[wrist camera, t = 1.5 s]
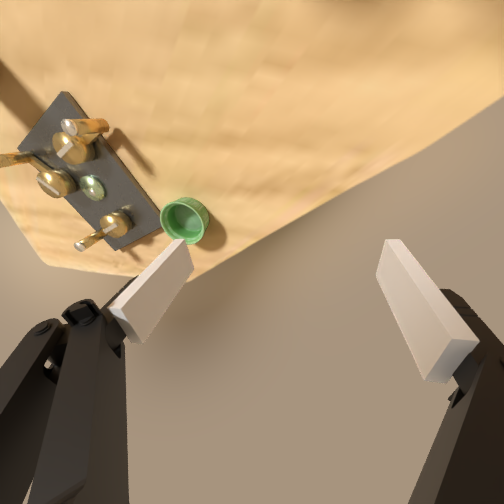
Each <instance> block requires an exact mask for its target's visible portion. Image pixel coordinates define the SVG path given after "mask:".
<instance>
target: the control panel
mask: <svg viewBox="0 0 504 504" xmlns="http://www.w3.org/2000/svg"><path fill="white" fill-rule="evenodd" d="M63 119H89V118H88V117H87V116H86V115H85V113H84V112H83V111H82V109H81V108H80V107H79V105H78V104H77V103H76V101H75V100H74V99H73V98H72V96H71V95H70V94H69V92H64V91H61V92H60V94H59V95H58V96H57V98H56V99H55V100H54V101H53V103H52V104H51V105H50V107H49V108H48V109H47V110H46V112H45V113H44V114H43V116H42V117H41V118H40V119H39V121H38V122H37V123H36V125H35V126H34V127H33V128H32V130H31V131H30V132H29V134H28V135H27V136H26V137H25V139H24V140H23V141H22V142H21V144H20V145H19V146H18V148H17V149H18V150H19V151H20V152H22V151H29V152H31V153H32V154H33V155H34V157H36V158H37V159H38V160H40V161H41V162H43V163H44V164H45V165H47V166H48V167H49V168H51V169H52V170H53V169H61V170H64V171H65V172H67V173H68V174H69V175H70V176H71V177H72V179H73V180H74V182H75V185H76V190H75V192H74V193H72V194H69V195H66V196H63V197H64V198H65V199H66V200H67V201H68V202H69V203H70V204H71V205H72V206H73V207H74V208H75V210H76V211H77V212H78V213H79V214H80V215H81V216H82V217H83V218H84V219H85V220H86V221H87V222H88V223H89V224H90V225H91V226H92V227H93V228H94V229H95V230H96V231H97V230H99V229H102V228H101V225H100V219H101V218H102V217H104V216H106V215H108V214H109V213H111V212H113V211H121V212H123V213H125V214H126V215H127V216H128V217H129V218H130V220H131V222H132V229H131V230H130V231H129V232H127V233H126V234H124V235H123V236H121V237H120V238H114V237H111V236H109V235H108V234H107V236H106V237H104V238H103V239H104V240H105V241H106V242H107V243H108V244H109V245H110V246H111V247H112V248H113V249H114V250H115V251H116V250H118V249H120V248H122V247H124V246H126V245H128V244H130V243H132V242H134V241H135V240H137V239H139V238H141V237H143V236H145V235H147V234H149V233H151V232H153V231H154V230H156V229H158V228H160V227H162V225H161V222H160V214H161V213H160V211H159V210H158V209H157V207H156V206H155V205H154V203H153V202H152V201H151V199H150V198H149V197H148V196H147V194H146V193H145V192H144V190H143V189H142V188H141V186H140V185H139V184H138V182H137V181H136V180H135V179H134V177H133V176H132V175H131V173H130V172H129V171H128V169H127V168H126V167H125V166H124V164H123V163H122V162H121V160H120V159H119V158H118V156H117V155H116V154H115V152H114V151H113V150H112V149H111V147H110V146H109V145H108V143H107V142H106V141H105V139H104V138H103V137H102V135H101V136H100V137H99V138H98V139H97V140H96V141H95V142H93V143H92V145H93V147H94V150H95V157H94V159H93V160H92V161H90V162H85V163H81V164H77V165H72V164H69V163H67V162H65V161H64V160H63V159H62V158H60V157H59V156H58V155H57V152H56V151H55V149H54V146H53V142H52V138H53V135H54V134H55V133H58V132H64V131H63V129H62V127H61V121H62V120H63ZM36 169H37V168H36ZM37 170H38V169H37ZM38 171H39V170H38ZM39 172H41V171H39Z"/></svg>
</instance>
